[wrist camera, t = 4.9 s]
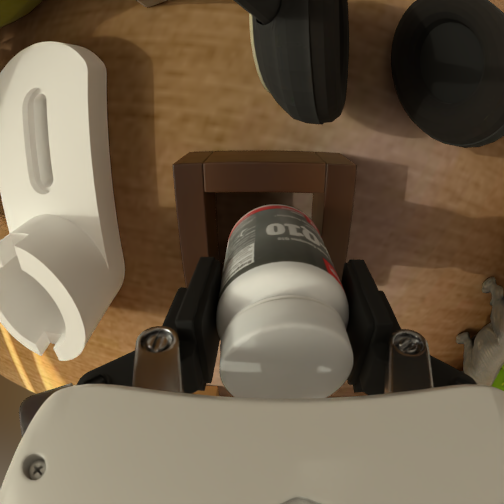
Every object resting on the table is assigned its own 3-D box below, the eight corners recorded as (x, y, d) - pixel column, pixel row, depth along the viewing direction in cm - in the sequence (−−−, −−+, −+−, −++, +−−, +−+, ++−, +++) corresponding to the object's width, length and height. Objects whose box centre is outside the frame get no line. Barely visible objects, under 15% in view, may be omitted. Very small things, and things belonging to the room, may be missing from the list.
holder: (340, 153, 17) (357, 165, 14) (327, 282, 21) (336, 313, 18) (188, 152, 17) (171, 164, 14) (199, 281, 21) (189, 312, 18)
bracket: (134, 308, 23) (102, 371, 17) (49, 298, 23) (10, 347, 17) (108, 31, 13) (43, 11, 7) (11, 63, 14) (-54, 68, 8)
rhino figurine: (426, 385, 26) (443, 429, 21) (480, 275, 20) (519, 319, 15) (454, 380, 26) (473, 421, 21) (509, 275, 20) (546, 314, 15)
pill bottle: (337, 234, 16) (399, 352, 8) (283, 297, 17) (300, 427, 10) (261, 182, 14) (272, 282, 7) (210, 256, 16) (181, 386, 9)
